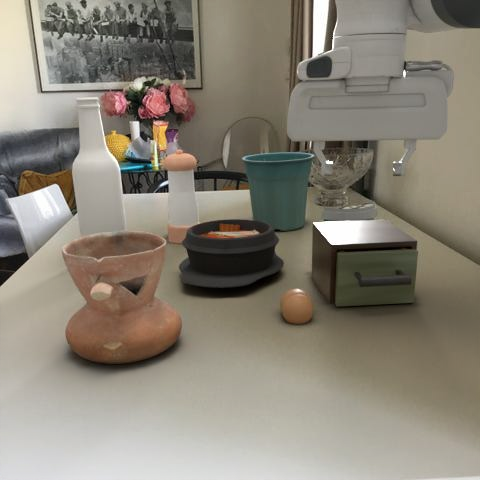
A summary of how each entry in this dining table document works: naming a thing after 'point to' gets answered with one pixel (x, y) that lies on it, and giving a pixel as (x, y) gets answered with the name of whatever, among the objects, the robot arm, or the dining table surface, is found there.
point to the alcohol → (96, 175)
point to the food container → (351, 212)
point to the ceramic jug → (119, 297)
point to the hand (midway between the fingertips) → (362, 175)
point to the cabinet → (349, 246)
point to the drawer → (375, 276)
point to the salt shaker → (181, 195)
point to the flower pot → (279, 188)
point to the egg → (296, 306)
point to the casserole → (229, 253)
